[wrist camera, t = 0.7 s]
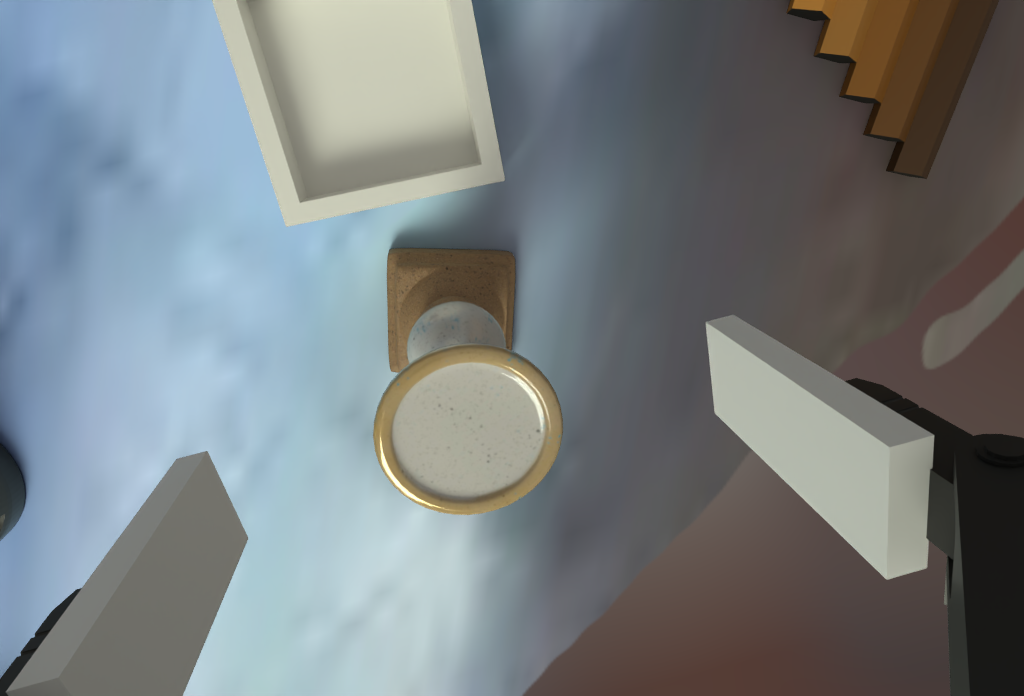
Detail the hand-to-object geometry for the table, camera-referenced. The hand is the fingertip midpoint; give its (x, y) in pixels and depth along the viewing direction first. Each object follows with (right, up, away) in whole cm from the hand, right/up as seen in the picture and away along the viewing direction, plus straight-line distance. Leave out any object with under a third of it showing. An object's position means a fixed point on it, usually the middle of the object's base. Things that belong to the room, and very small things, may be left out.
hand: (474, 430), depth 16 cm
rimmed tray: (-10, +22, +31) cm, 40 cm away
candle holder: (-5, +6, +39) cm, 39 cm away
